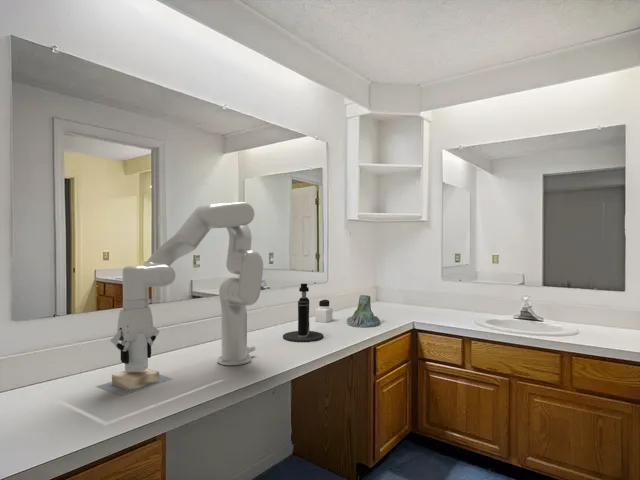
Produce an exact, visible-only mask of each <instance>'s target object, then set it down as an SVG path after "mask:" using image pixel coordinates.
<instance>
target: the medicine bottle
mask: <svg viewBox="0 0 640 480" xmlns="http://www.w3.org/2000/svg"><path fill="white" fill-rule="evenodd" d="M332 321H333V308H332V307H330V300H328V299H319V300H318V307H317V308H315V322H317V323H325V324H326V323H330V322H332Z"/></svg>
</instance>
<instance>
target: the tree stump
mask: <svg viewBox="0 0 640 480" xmlns="http://www.w3.org/2000/svg"><path fill="white" fill-rule="evenodd" d="M371 307H372V305H371V296H370V295H365V294H360V295H359V300H358V304H357V309H356V310H355V311H354V312H353V314H352V316H348V318H347V319H346V324H347V326H350V327H353V328H365V329H366V328H374V327H377V326H379V324H380V319H379V317H378V316H377V315H376V316H375V315H374V312H373V311H372V308H371Z"/></svg>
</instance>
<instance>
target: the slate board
mask: <svg viewBox="0 0 640 480" xmlns="http://www.w3.org/2000/svg"><path fill="white" fill-rule="evenodd" d="M172 380H174V378H172V377H169V376H166V375H162V374H160V373H159V381H158V382H155V383H152V384H149V385H146V386H143V387H139V388H136V389H133V390H127V389H124V388H121V387H119V386H116V385H113V384H112V381H109V382H107V383H103V384H100V385H97V386H95V387H96V388H98V389H102V390H103V391H105V392H109V393H111V394H114V395H116V396H119V397H123V396H126V395H128V394H132V393H135V392H138V391H142V390H144V389H148V388H150V387H154V386H156V385H159V384H163V383H166V382H168V381H169V382H170V381H172Z"/></svg>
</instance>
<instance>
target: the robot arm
mask: <svg viewBox="0 0 640 480" xmlns="http://www.w3.org/2000/svg"><path fill="white" fill-rule="evenodd" d="M254 217H255V209H254V208H253V206H252V205H251V204H250V203H248V202H245V201H240V202H232V203H231V202H229V203H211V204H203V205H200V206H198V207H196V208H195V209H194V210H193V212H192V213H191V214H190V215H189V217H187V219H186V220H185V221H184V223H183V224H182V225H181V226H180V228H179V229H177V232H176V233H175V234H174V235H173V236H171V237H170V238H169V239H168V240H167V241H165V242H164V243H163V244H161V246H159V247H158V248H157V249H156V250H155V251H154V252H153V253H152V254H151V256H150V257H149V258H148V259H147V260H146V262H145V263H144V265H140V264H139V265H137V264H136V265H135V264H134V265H127V266H125V267H124V268H123V269H122V309H120V310H119V314H118V319H117V328H116V329H117V330H116V333H115V335H114V336H113V337H112V338H111V339H110V343H111V344H112V345H113V346H115V347H116V349H118V350H119V351H120V361H121V363H123V364H124V365H125V364H128V363H129V351H127V349H128V346H129V344H130V342H133V341H136V340H137V335H138V333H142V332H144V333H145V338H147V350H148V359H151V357H152V346H153V345H154V341H155V340H156V339H157V336H158V335H159V333H160V330H159V329H158V328H157V327H156V326H154V322H153V321H154V320H153V314H152V313H153V312H152V309H151V307H150V306H149V305H150V304H151V303H152V302H153V300H152V298H150V295H149V291H150V290H149V288H151V287H152V288H165V287H169V286H170V285H172V284H173V283H174V281H175V279H176V272H175V269H174V268H173V267H172V266H171V265H173V263H175V262H176V261H177V260H178V259H180V258H182V257H184V256H186V255H189V254H190V253H193V251H195V250H196V249H197V248H198V247H199V245H200V244H201V242H202V241H203V240H204V239H205V238H206V235H208V233H209V232H210V231H211V229H222V228H223V229H224V228H225V229H226V230H227V233H228V237H229V238H228V249H227V257H226V263H225V264H226V265H225V266H226V269H227V271H228V272H229V273H231V274H234V275H238V277H229V278H227V279H224V280H223V281H222V282H221V284H220V285H219V289H218V291H219V292H218V294H219V295H218V296H219V301H220V302H219V303H220V307H221V355H220V356H219V357H217V364H220V365H223V366H240V365H245V364H248V363H250V362H251V361H252V356H251V355H250V353H252V352H255V351H256V346H254V345H253V346H248V311H247V306H249V307H250V306H252V305H254V304H255V303H257V301H258V299H259V298H260V294H261V289H262V283H263V281H262V280H263V273H264V261H263V258H262V256H261V255H260V253H259V252H257V251H255V250H253V249H252V232H251V229H250V227H249V224H250V223H251V222H253V220H254ZM119 341H120V342H119ZM124 342H125V345H124Z"/></svg>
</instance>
